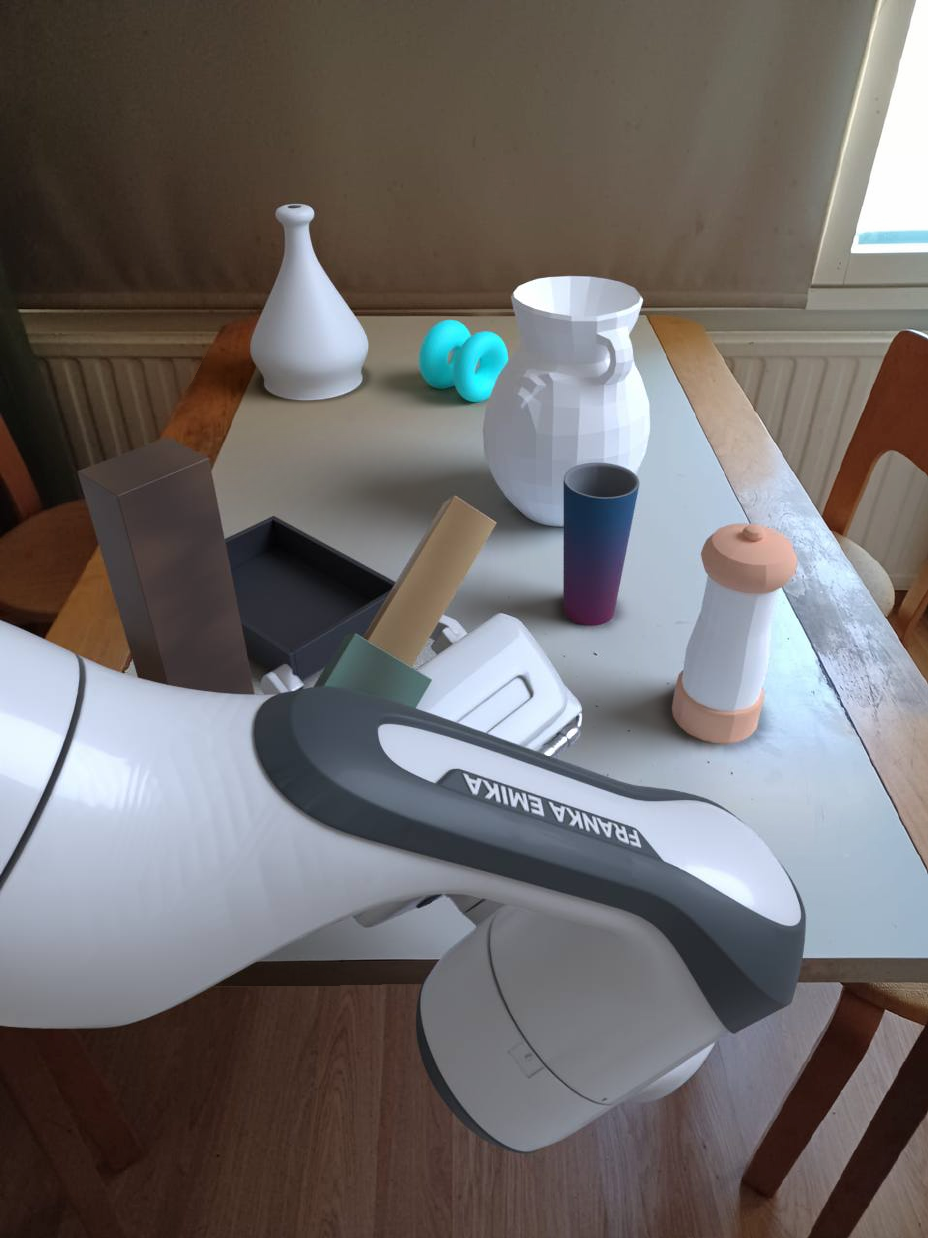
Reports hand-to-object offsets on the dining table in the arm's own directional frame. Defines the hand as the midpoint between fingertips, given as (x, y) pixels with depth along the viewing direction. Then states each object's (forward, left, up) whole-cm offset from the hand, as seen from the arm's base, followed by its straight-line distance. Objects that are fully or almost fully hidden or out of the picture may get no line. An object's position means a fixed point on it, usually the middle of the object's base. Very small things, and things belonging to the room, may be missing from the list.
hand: (336, 634), depth 53 cm
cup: (+36, +6, -22) cm, 42 cm away
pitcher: (+51, +21, -22) cm, 59 cm away
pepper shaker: (+31, -11, -22) cm, 39 cm away
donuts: (+68, +52, -22) cm, 88 cm away
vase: (+56, +72, -22) cm, 94 cm away
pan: (+16, +29, -21) cm, 39 cm away
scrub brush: (+4, -2, 0) cm, 4 cm away
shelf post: (0, +19, -21) cm, 29 cm away
